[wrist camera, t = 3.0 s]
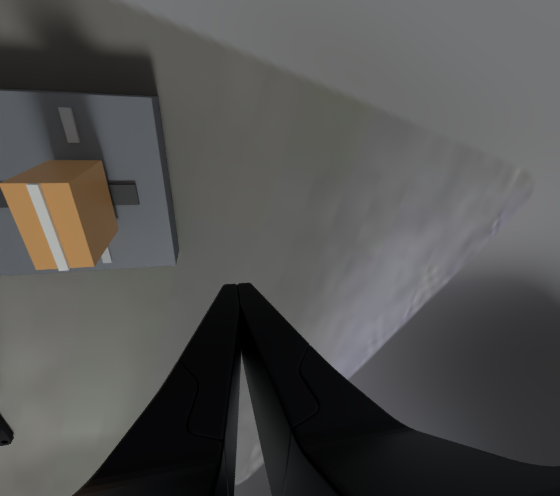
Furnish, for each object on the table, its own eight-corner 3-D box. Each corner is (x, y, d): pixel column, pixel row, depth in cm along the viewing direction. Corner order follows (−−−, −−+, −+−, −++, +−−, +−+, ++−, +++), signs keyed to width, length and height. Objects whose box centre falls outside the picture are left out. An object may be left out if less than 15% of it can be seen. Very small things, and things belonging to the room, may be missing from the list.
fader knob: (118, 229, 17) (93, 269, 13) (72, 231, 17) (33, 272, 13) (101, 160, 15) (66, 184, 11) (49, 159, 15) (-5, 184, 11)
